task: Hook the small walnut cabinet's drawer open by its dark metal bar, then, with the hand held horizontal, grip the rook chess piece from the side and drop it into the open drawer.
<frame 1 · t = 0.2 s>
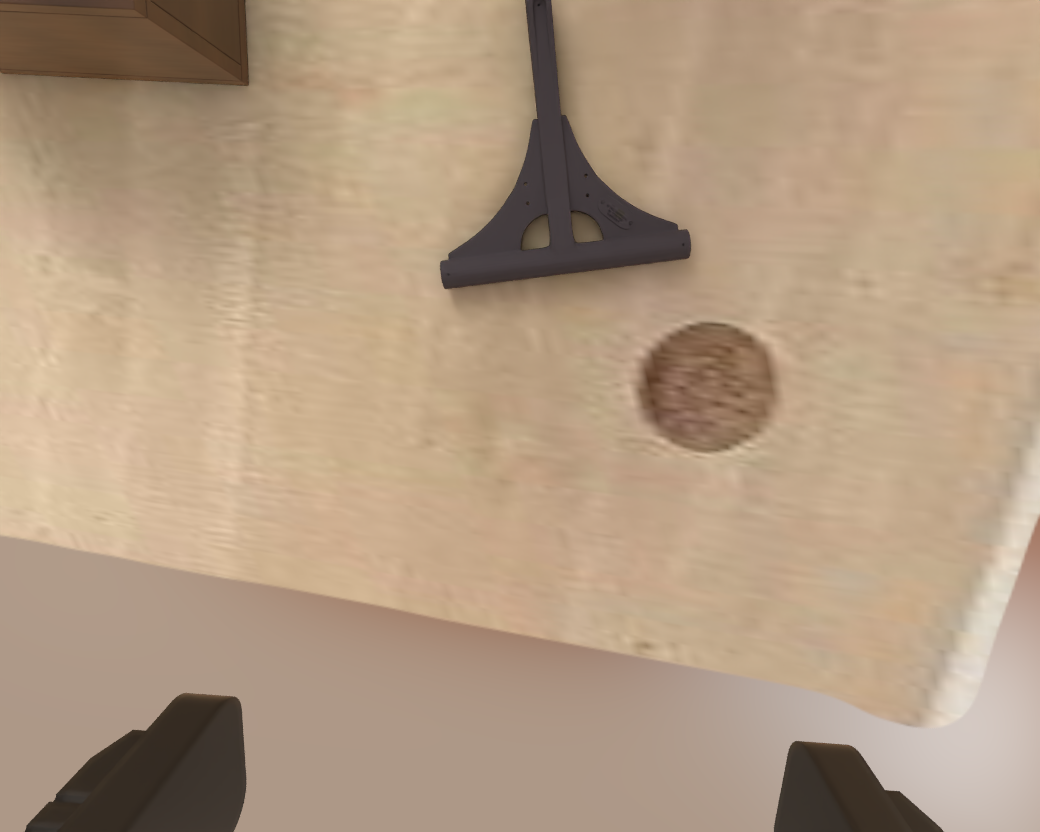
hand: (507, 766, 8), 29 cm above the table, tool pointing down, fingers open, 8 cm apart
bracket: (553, 143, 34), on the table
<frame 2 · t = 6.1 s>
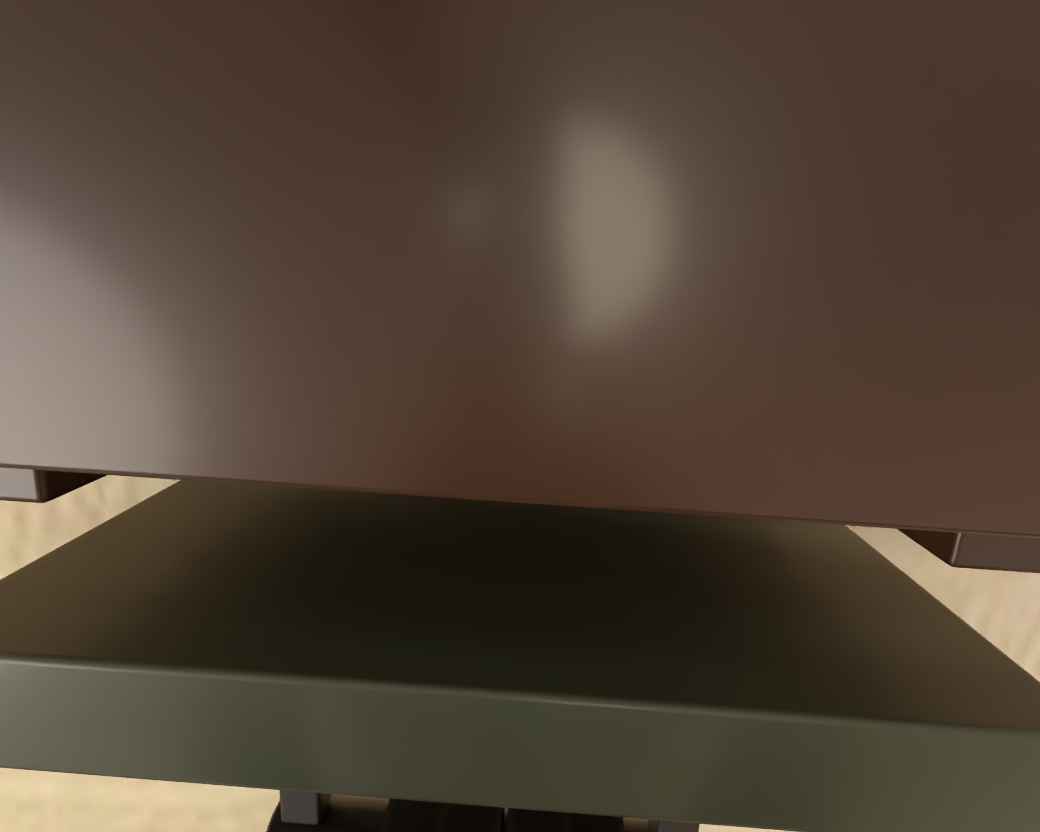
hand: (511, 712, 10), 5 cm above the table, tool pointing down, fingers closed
drawer: (519, 300, 8), point 5 cm above the table, slide at 2.0 cm, touching gripper
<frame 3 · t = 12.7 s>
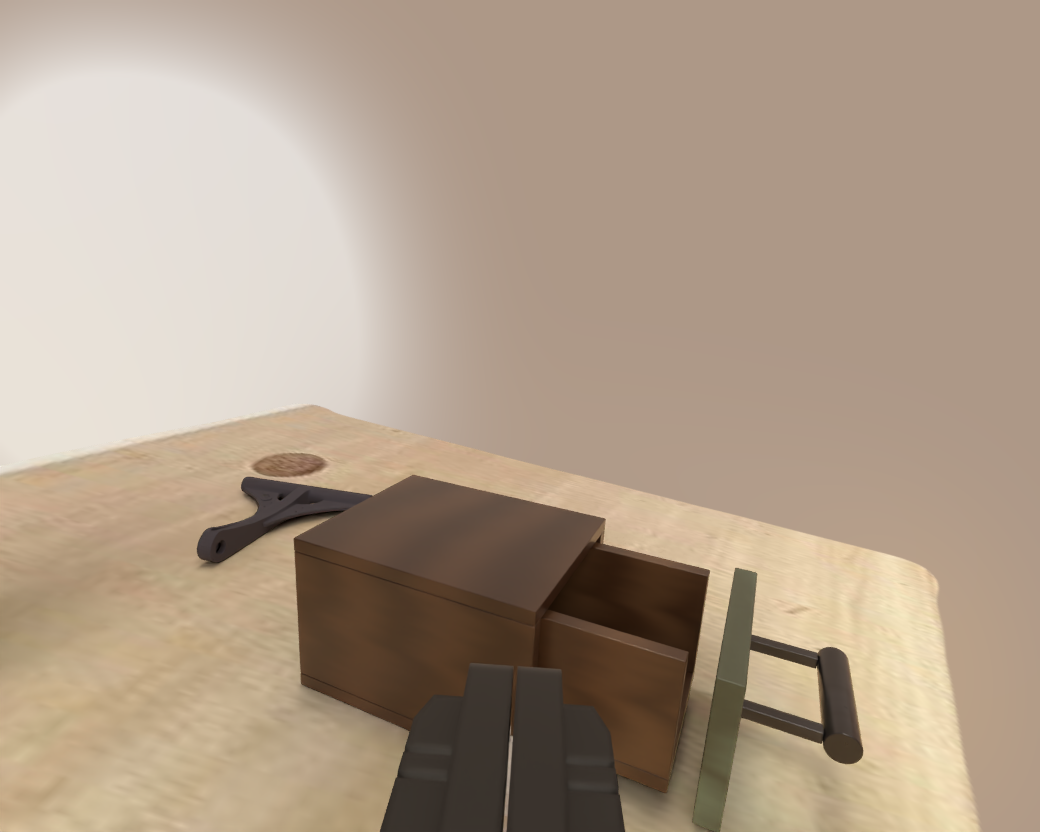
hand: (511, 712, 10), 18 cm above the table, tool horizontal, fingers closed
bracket: (264, 529, 54), on the table
drawer: (656, 660, 31), point 5 cm above the table, slide at 8.0 cm
cabinet: (456, 665, 37), on the table
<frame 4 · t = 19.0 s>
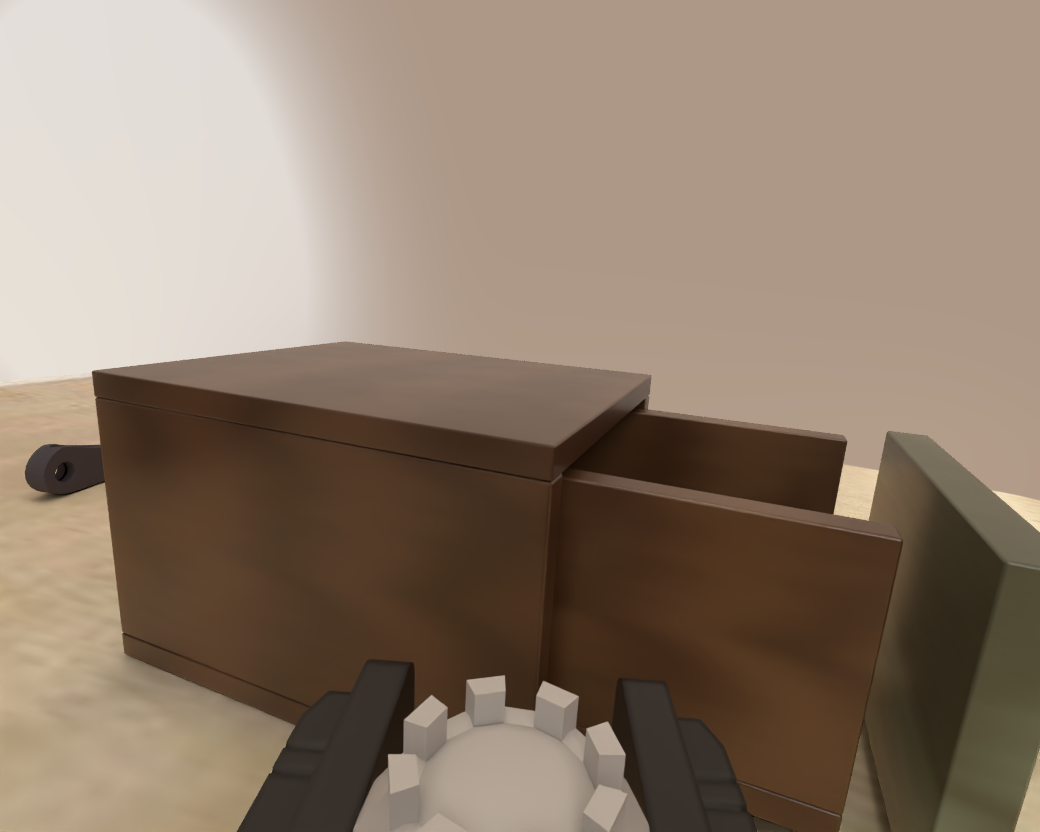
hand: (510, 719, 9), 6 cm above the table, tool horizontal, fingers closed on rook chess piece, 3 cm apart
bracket: (150, 463, 38), on the table
drawer: (771, 585, 17), point 5 cm above the table, slide at 8.0 cm
cabinet: (405, 622, 22), on the table
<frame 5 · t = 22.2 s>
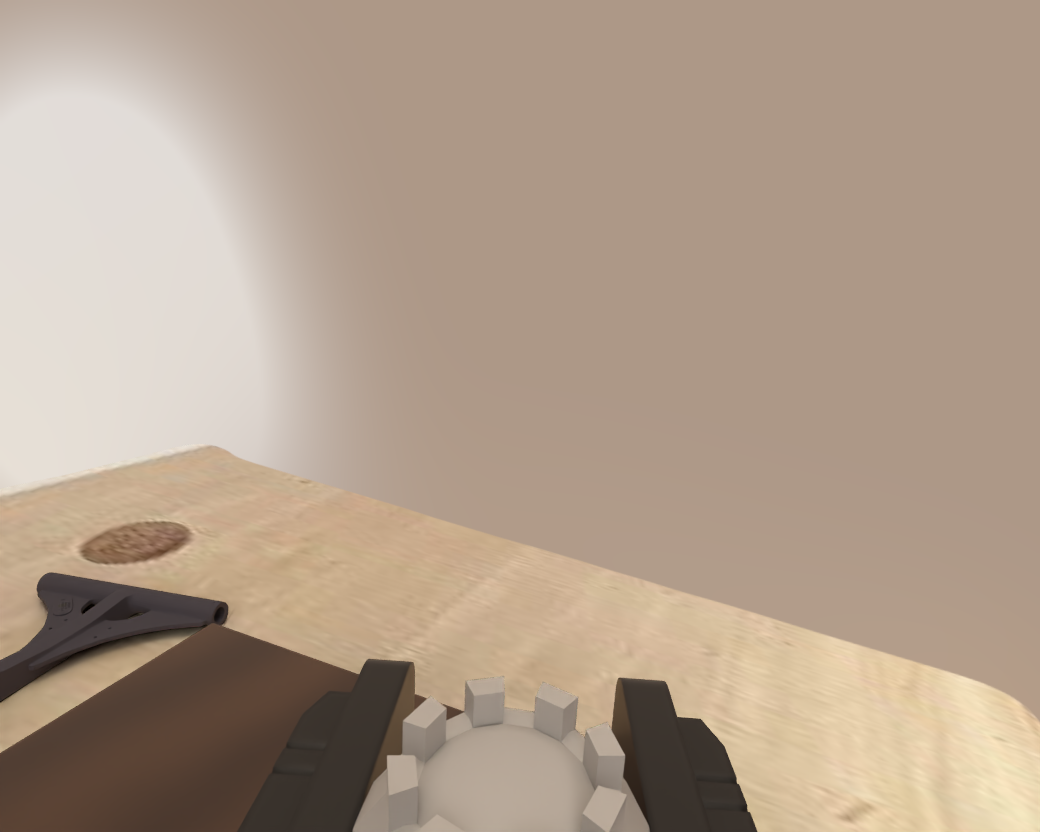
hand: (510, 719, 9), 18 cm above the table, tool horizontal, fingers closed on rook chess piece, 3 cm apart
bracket: (40, 670, 35), on the table
when the fingers open (10 cm above the table, at t = 25.5 s): rook chess piece drops 2 cm, resting on drawer.
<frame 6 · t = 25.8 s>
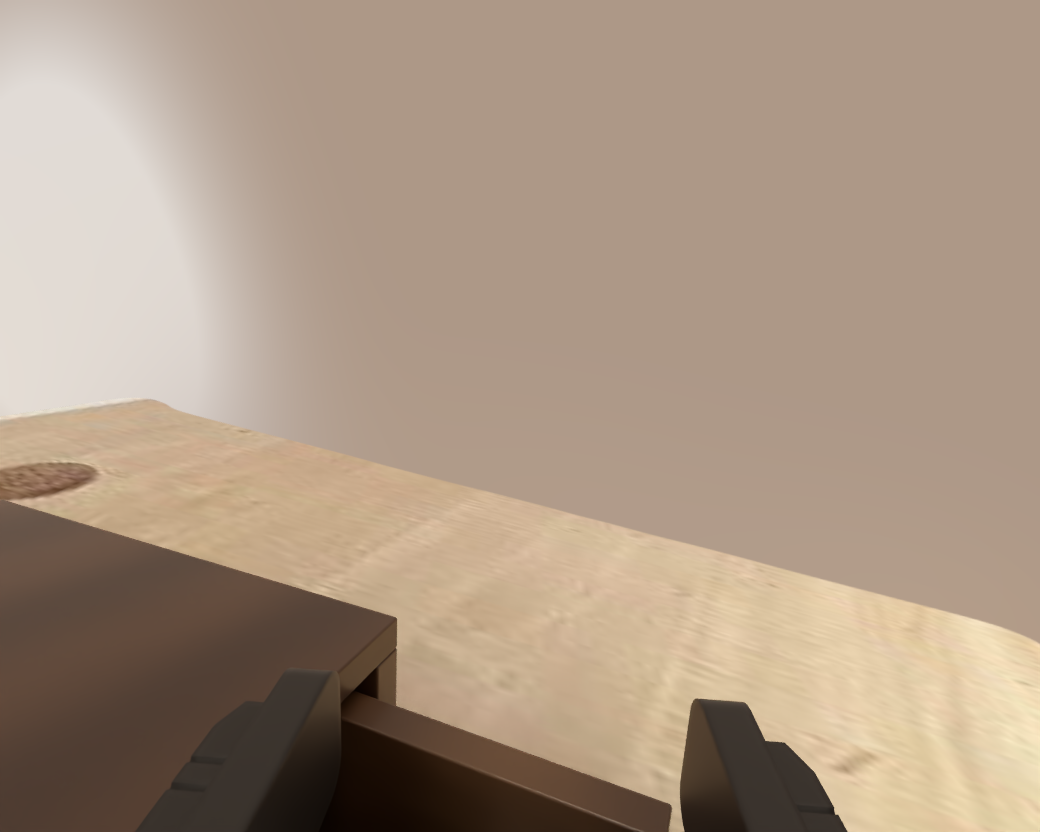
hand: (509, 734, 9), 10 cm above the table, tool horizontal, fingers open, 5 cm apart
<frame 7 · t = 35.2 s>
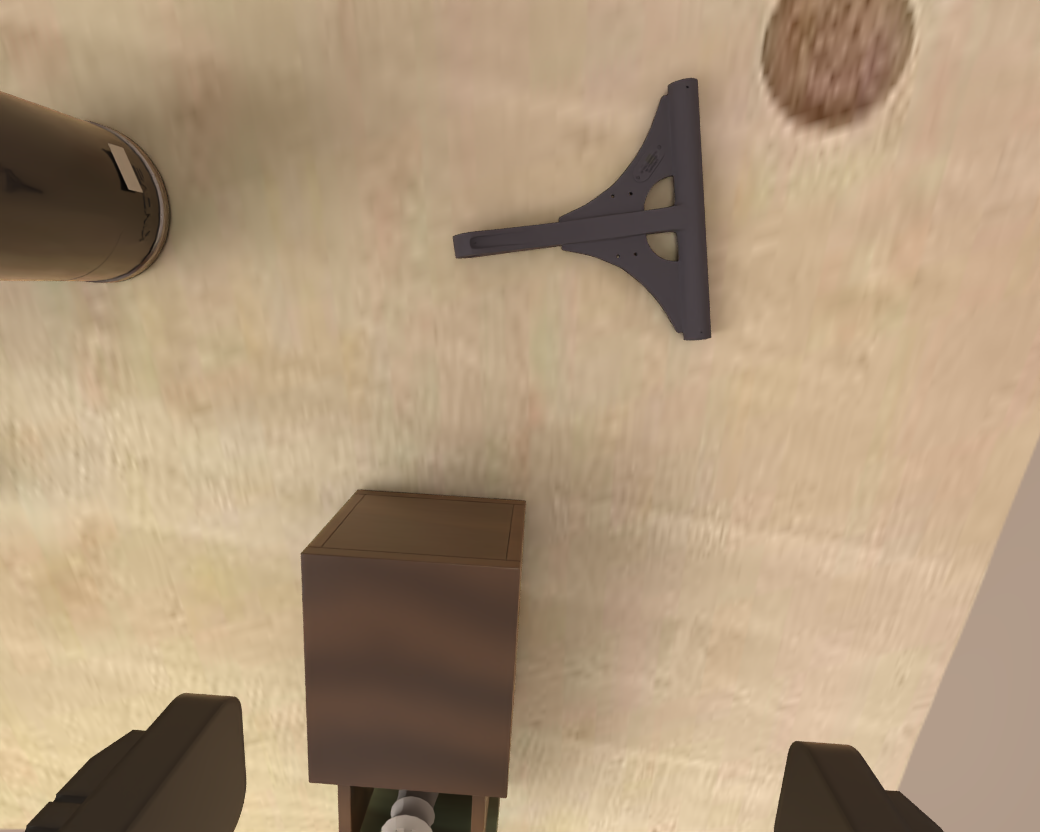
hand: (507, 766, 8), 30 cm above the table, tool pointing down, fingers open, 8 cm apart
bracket: (577, 231, 36), on the table
drawer: (422, 787, 39), point 5 cm above the table, slide at 7.8 cm, touching rook chess piece
cabinet: (439, 591, 41), on the table
rook chess piece: (430, 744, 42), point 2 cm above the table, touching drawer
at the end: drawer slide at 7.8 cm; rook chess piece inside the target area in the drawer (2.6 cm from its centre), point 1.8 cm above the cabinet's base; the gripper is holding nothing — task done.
